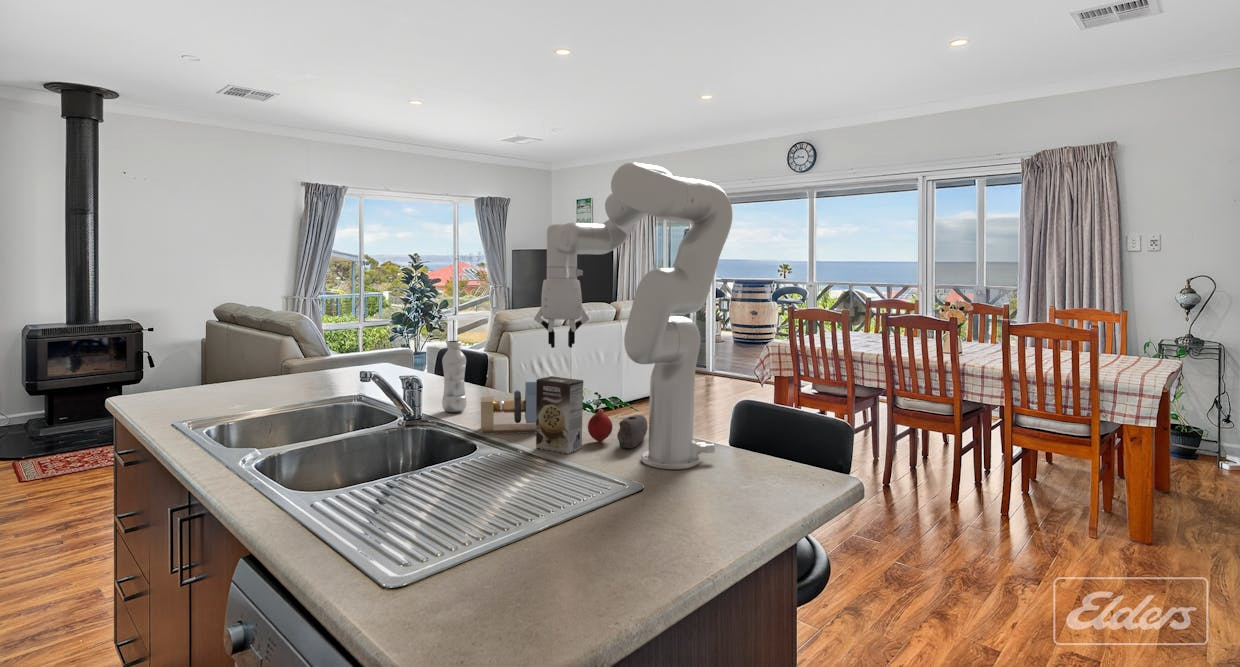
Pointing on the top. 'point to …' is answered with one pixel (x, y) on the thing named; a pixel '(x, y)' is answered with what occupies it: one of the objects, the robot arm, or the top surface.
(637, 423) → the perforated stone tool
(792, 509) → the top surface
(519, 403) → the o ring
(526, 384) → the blue-grey stepped block
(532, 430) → the pipe rig
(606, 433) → the onion
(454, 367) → the plastic bottle
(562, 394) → the coffee box
